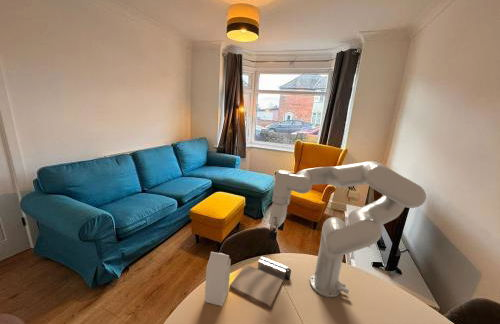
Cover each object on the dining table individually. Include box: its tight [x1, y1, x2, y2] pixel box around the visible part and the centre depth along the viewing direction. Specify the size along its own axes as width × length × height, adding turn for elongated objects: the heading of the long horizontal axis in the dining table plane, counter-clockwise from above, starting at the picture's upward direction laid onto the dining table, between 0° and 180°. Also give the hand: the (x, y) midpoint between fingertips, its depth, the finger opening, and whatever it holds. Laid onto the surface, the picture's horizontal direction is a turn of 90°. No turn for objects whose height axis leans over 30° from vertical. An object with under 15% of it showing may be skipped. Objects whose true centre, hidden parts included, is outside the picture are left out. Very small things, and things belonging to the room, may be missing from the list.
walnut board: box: [228, 264, 284, 310], centre depth 88 cm, size 18×15×2 cm
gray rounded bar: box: [257, 256, 292, 281], centre depth 96 cm, size 15×4×4 cm, turn 63°
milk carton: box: [204, 251, 232, 307], centre depth 79 cm, size 7×7×19 cm
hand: (276, 234), depth 93 cm, fingers open, 9 cm apart
